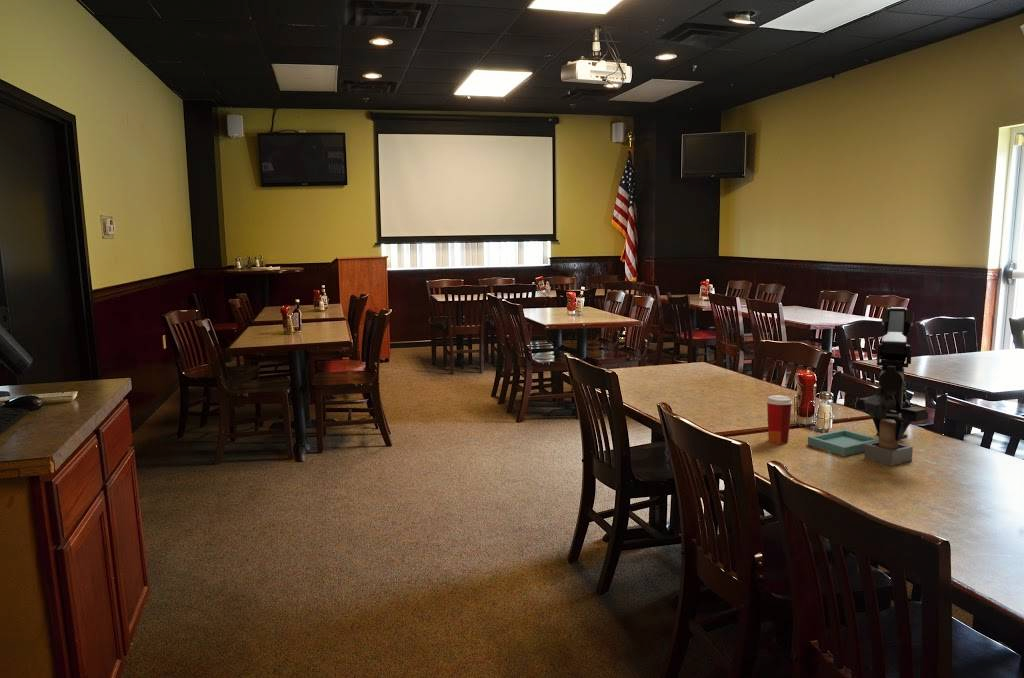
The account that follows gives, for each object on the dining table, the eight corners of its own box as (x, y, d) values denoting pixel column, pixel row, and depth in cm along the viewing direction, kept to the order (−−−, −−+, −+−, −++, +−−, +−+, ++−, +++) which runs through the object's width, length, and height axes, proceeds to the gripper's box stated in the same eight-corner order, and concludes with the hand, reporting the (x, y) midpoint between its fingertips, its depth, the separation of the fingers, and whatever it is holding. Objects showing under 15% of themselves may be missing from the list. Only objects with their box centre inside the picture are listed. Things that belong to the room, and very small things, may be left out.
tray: (843, 436, 225) (844, 429, 225) (881, 447, 214) (881, 439, 213) (807, 444, 218) (807, 436, 218) (844, 456, 207) (844, 447, 206)
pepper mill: (885, 455, 206) (887, 418, 205) (901, 460, 202) (903, 422, 200) (874, 458, 204) (875, 420, 202) (890, 462, 200) (892, 424, 198)
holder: (884, 452, 209) (884, 439, 208) (912, 460, 201) (912, 446, 200) (864, 457, 205) (864, 443, 204) (891, 465, 197) (892, 451, 197)
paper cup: (787, 438, 226) (788, 394, 223) (794, 445, 218) (796, 400, 216) (761, 438, 226) (763, 394, 224) (768, 445, 219) (769, 400, 217)
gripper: (843, 382, 205) (841, 434, 207) (904, 394, 188) (901, 451, 190) (869, 377, 209) (867, 429, 212) (931, 389, 193) (927, 445, 195)
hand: (888, 438), depth 202 cm, fingers closed on pepper mill, 5 cm apart
